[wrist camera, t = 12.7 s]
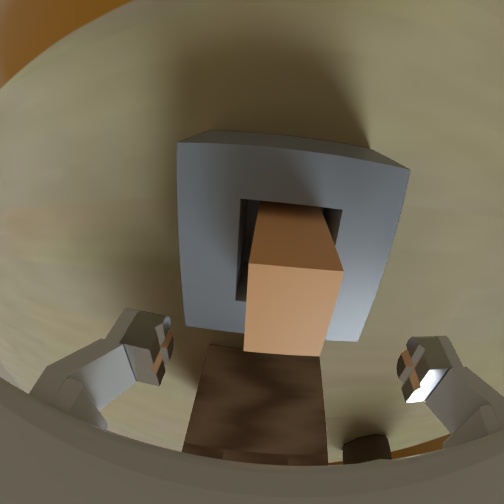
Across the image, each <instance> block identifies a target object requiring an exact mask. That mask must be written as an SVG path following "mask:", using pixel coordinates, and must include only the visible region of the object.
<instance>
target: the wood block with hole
mask: <svg viewBox="0 0 504 504" xmlns="http://www.w3.org/2000/svg"><path fill="white" fill-rule="evenodd" d="M182 452H184V453H189V454H194V455H199V456H204V457H210V458H216V459H222V460H229V461H237V462H246V463H256V464H269V465H289V466H326V465H328V453H327V437H326V423H325V410H324V399H323V388H322V378H321V368H320V359H319V356H300V355H283V354H270V353H258V352H248V351H244V349H238V348H229V347H221V346H214V345H209V347H208V351H207V355H206V359H205V363H204V366H203V370H202V374H201V378H200V382H199V386H198V389H197V393H196V397H195V401H194V405H193V409H192V413H191V417H190V421H189V425H188V429H187V433H186V437H185V441H184V445H183V449H182Z"/></svg>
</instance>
